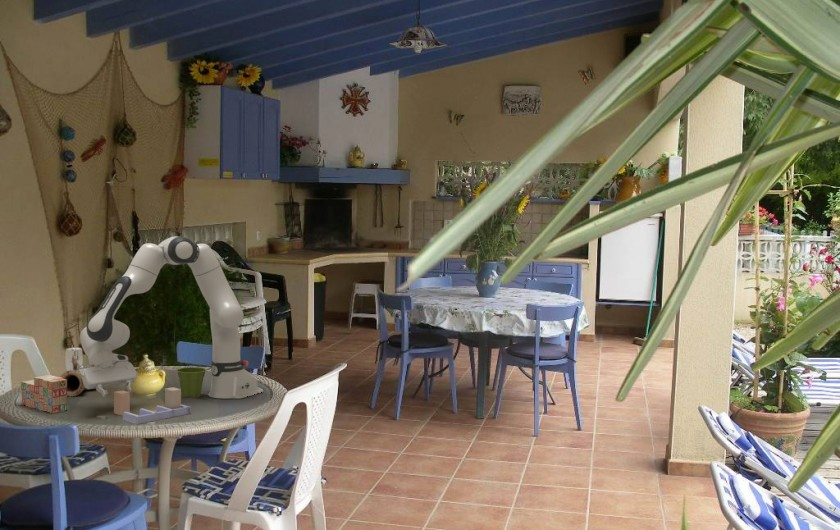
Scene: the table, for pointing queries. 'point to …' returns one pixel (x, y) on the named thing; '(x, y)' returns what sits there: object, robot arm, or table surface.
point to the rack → (156, 414)
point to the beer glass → (73, 358)
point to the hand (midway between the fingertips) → (117, 393)
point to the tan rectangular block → (121, 402)
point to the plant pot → (191, 381)
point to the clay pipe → (73, 382)
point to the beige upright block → (172, 398)
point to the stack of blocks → (45, 393)
